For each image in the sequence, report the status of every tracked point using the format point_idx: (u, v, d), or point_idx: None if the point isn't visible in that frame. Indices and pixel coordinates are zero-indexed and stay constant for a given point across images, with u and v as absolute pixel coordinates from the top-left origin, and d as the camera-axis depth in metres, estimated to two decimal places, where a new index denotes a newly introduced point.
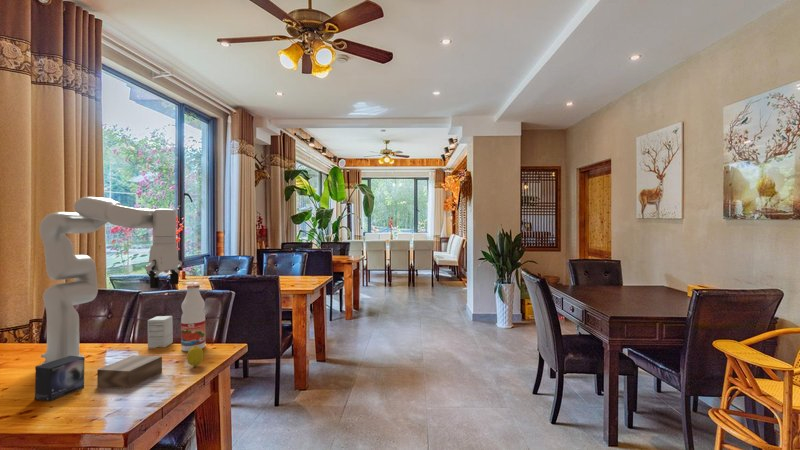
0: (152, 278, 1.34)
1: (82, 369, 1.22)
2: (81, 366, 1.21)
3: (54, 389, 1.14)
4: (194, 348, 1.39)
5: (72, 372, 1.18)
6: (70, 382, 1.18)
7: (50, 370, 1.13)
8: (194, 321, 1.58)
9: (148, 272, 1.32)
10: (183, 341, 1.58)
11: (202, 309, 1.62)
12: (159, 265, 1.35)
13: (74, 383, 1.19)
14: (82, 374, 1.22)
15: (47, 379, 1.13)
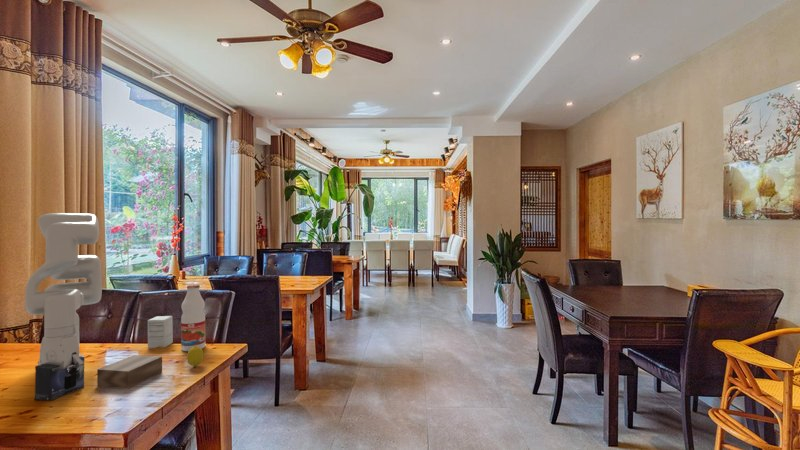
0: (72, 376, 1.17)
1: (82, 369, 1.22)
2: None
3: (54, 388, 1.14)
4: (194, 348, 1.39)
5: None
6: None
7: (50, 370, 1.13)
8: (194, 321, 1.58)
9: (77, 369, 1.17)
10: (183, 341, 1.58)
11: (202, 309, 1.62)
12: None
13: None
14: (82, 374, 1.22)
15: (47, 379, 1.13)
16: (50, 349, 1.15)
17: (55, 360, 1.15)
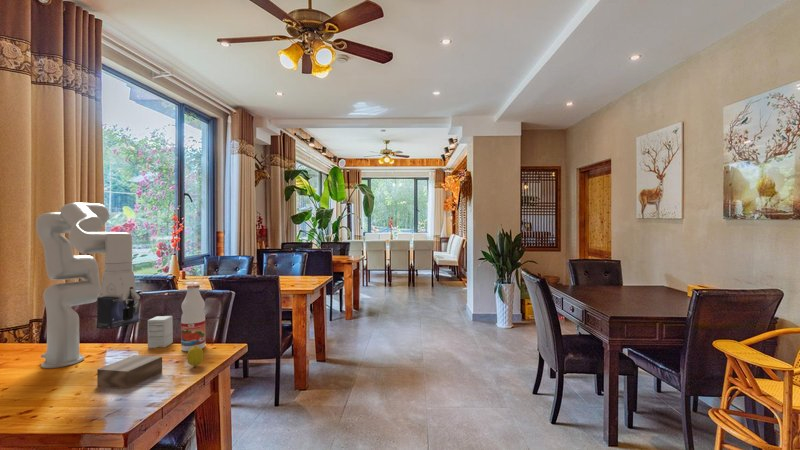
0: (130, 309, 1.27)
1: (137, 304, 1.31)
2: None
3: (115, 318, 1.23)
4: (194, 348, 1.39)
5: None
6: None
7: (111, 300, 1.22)
8: (194, 321, 1.58)
9: (135, 302, 1.26)
10: (183, 341, 1.58)
11: (202, 309, 1.62)
12: (135, 292, 1.28)
13: None
14: (137, 309, 1.31)
15: (108, 309, 1.22)
16: (111, 283, 1.25)
17: (115, 293, 1.24)
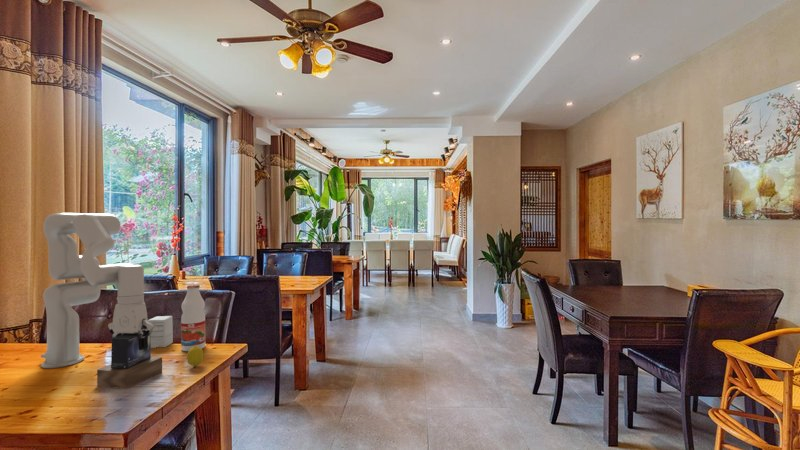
0: (145, 338, 1.28)
1: (149, 341, 1.33)
2: (148, 339, 1.33)
3: (130, 357, 1.25)
4: (194, 348, 1.39)
5: None
6: (141, 352, 1.29)
7: (127, 340, 1.24)
8: (194, 321, 1.58)
9: (150, 331, 1.28)
10: (183, 341, 1.58)
11: (202, 309, 1.62)
12: None
13: (143, 353, 1.30)
14: (149, 346, 1.33)
15: (124, 349, 1.24)
16: (123, 315, 1.27)
17: (128, 325, 1.26)
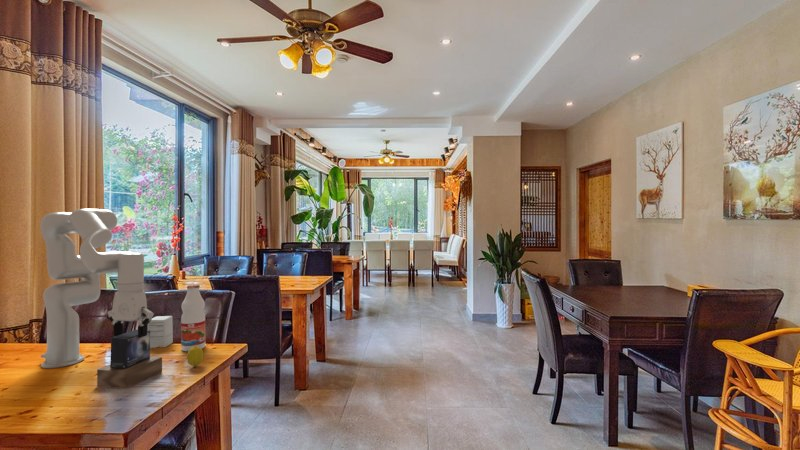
0: (145, 326, 1.29)
1: (148, 341, 1.33)
2: (148, 338, 1.33)
3: (129, 357, 1.25)
4: (194, 348, 1.39)
5: (141, 344, 1.30)
6: (140, 352, 1.29)
7: (126, 340, 1.24)
8: (194, 321, 1.58)
9: (149, 319, 1.28)
10: (183, 341, 1.58)
11: (202, 309, 1.62)
12: None
13: (143, 353, 1.30)
14: (148, 346, 1.33)
15: (123, 348, 1.24)
16: (123, 303, 1.27)
17: (127, 313, 1.26)
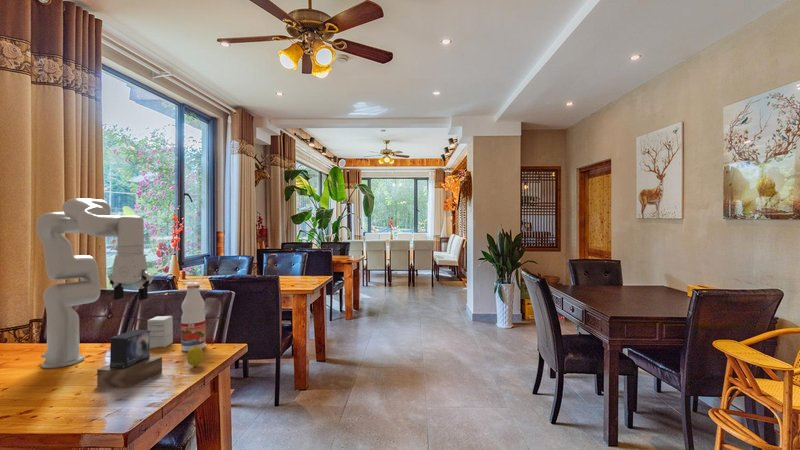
0: (145, 289, 1.29)
1: (148, 341, 1.33)
2: (147, 338, 1.33)
3: (129, 357, 1.25)
4: (194, 348, 1.39)
5: (141, 343, 1.30)
6: (140, 352, 1.30)
7: (126, 340, 1.24)
8: (194, 321, 1.58)
9: (150, 282, 1.28)
10: (183, 341, 1.58)
11: (202, 309, 1.62)
12: None
13: (142, 353, 1.30)
14: (148, 346, 1.33)
15: (123, 348, 1.24)
16: (123, 265, 1.27)
17: (127, 275, 1.27)
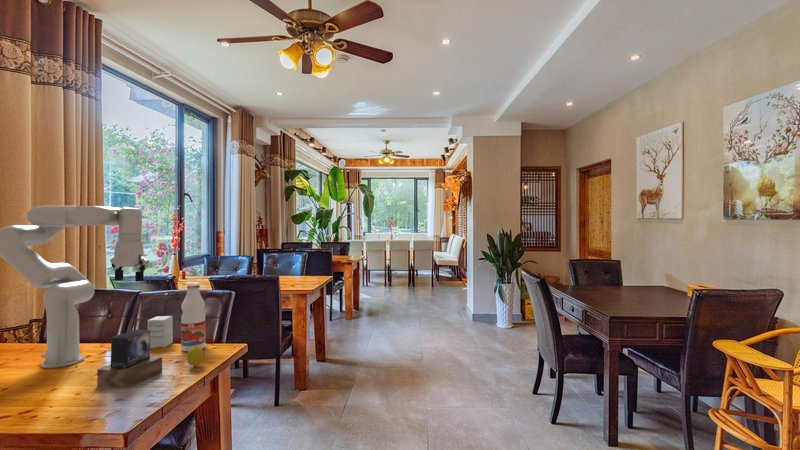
0: (141, 272, 1.47)
1: (148, 341, 1.33)
2: (148, 338, 1.33)
3: (130, 357, 1.25)
4: (194, 348, 1.39)
5: (142, 343, 1.30)
6: (141, 352, 1.30)
7: (127, 340, 1.24)
8: (194, 321, 1.58)
9: (145, 266, 1.46)
10: (183, 341, 1.58)
11: (202, 309, 1.62)
12: None
13: (143, 353, 1.31)
14: (148, 346, 1.33)
15: (123, 348, 1.24)
16: (123, 251, 1.45)
17: (126, 259, 1.45)
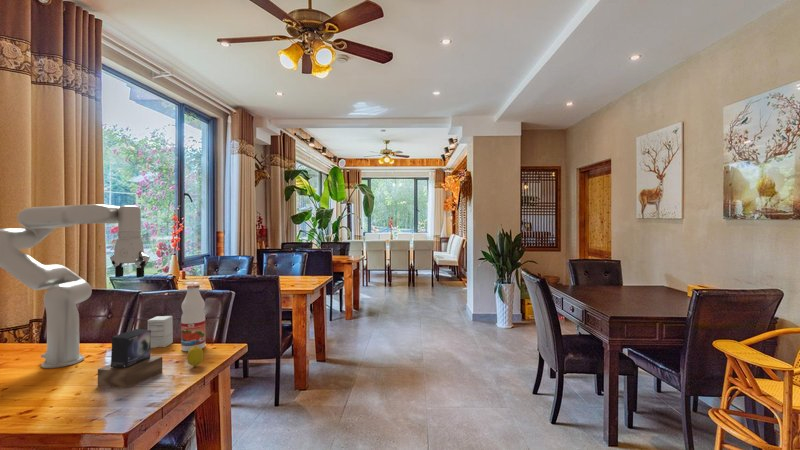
0: (142, 268, 1.50)
1: (149, 341, 1.33)
2: (148, 338, 1.33)
3: (130, 357, 1.25)
4: (194, 348, 1.39)
5: (142, 343, 1.30)
6: (141, 352, 1.30)
7: (127, 339, 1.24)
8: (194, 321, 1.58)
9: (146, 262, 1.50)
10: (183, 341, 1.58)
11: (202, 309, 1.62)
12: None
13: (143, 353, 1.31)
14: (149, 345, 1.33)
15: (124, 348, 1.24)
16: (123, 248, 1.48)
17: (127, 256, 1.48)
